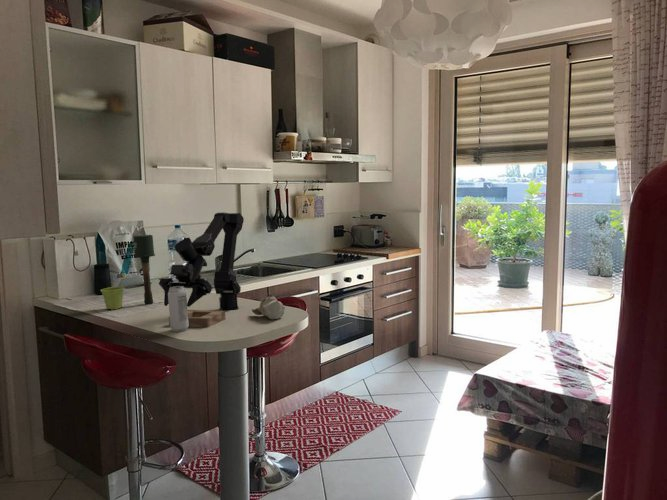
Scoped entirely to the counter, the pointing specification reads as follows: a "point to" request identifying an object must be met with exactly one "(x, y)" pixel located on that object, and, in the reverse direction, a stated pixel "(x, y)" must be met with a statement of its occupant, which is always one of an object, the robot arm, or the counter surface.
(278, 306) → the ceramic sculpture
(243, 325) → the counter surface
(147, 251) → the potato masher grenade
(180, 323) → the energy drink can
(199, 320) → the hole board
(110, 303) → the plant pot
